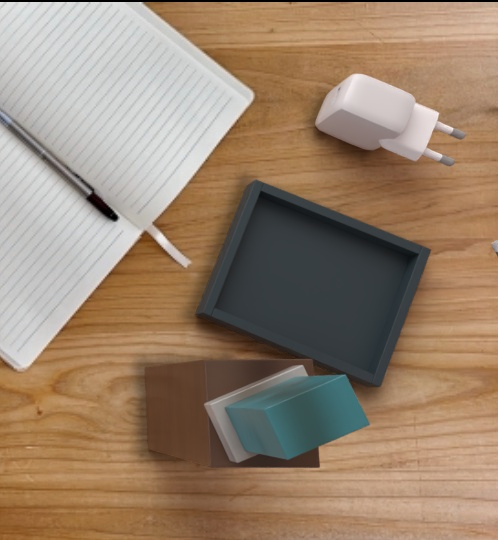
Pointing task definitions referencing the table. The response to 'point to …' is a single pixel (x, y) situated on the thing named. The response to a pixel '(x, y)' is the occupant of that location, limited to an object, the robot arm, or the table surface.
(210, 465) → the stand
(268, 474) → the table surface
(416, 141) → the power adapter
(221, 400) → the eraser
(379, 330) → the tray
